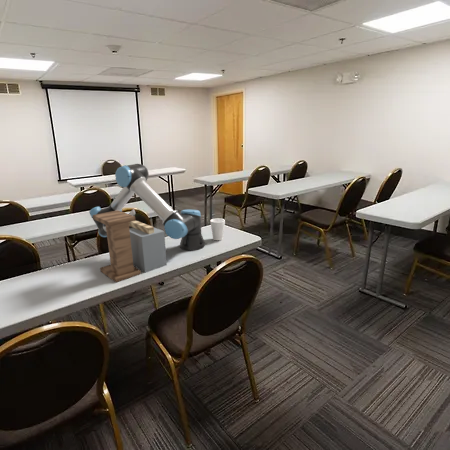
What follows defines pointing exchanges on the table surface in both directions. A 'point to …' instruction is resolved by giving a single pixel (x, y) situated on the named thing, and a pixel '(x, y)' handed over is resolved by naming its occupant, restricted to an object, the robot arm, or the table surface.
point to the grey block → (148, 249)
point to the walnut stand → (118, 245)
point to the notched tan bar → (142, 227)
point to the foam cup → (217, 228)
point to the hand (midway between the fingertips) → (123, 213)
